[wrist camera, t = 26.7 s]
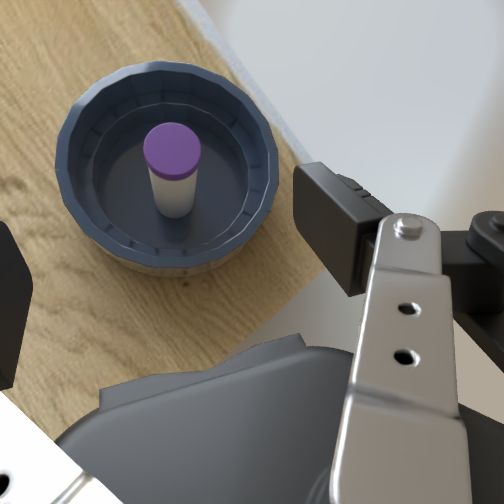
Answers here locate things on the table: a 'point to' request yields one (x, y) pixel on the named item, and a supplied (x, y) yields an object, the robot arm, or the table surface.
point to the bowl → (138, 177)
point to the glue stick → (173, 167)
